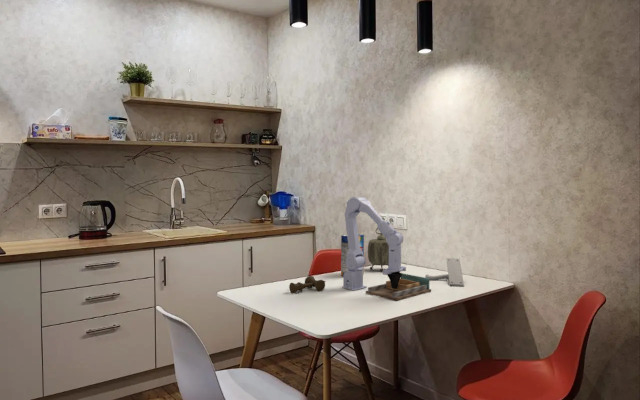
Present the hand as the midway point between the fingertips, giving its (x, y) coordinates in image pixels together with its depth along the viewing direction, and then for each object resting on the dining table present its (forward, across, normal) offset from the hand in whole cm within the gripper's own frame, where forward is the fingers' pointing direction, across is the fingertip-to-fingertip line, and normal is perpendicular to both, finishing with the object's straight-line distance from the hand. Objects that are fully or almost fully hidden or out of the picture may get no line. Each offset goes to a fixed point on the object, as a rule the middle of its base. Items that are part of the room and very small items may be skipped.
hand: (394, 288), depth 220 cm
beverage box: (+3, +15, +41) cm, 44 cm away
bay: (+2, +3, 0) cm, 4 cm away
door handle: (+3, +38, -2) cm, 38 cm away
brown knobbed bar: (+3, -25, +31) cm, 40 cm away
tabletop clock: (+3, +37, +39) cm, 54 cm away
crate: (+1, +6, 0) cm, 6 cm away
